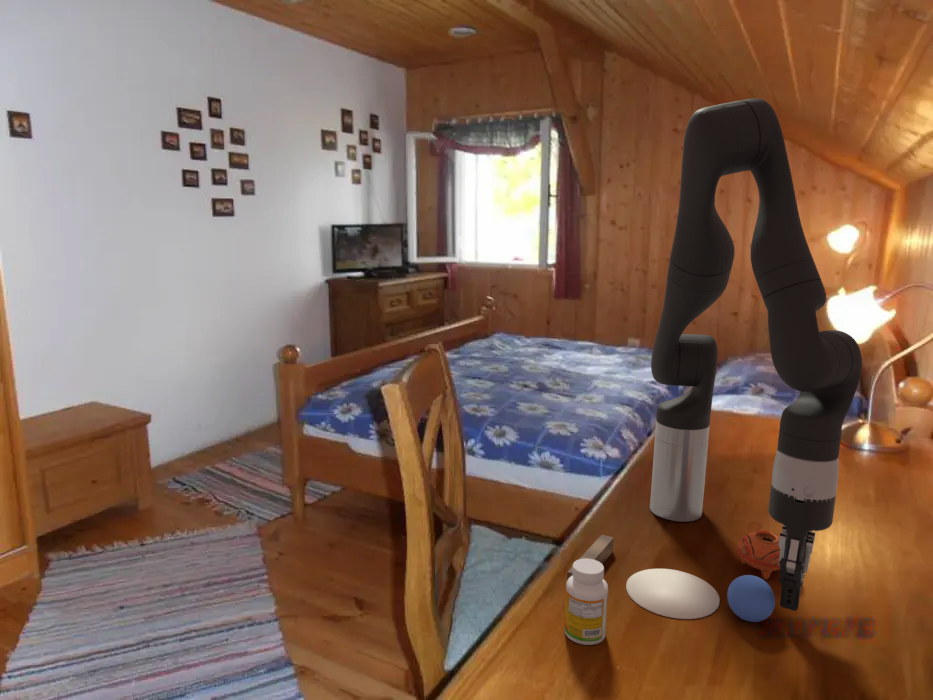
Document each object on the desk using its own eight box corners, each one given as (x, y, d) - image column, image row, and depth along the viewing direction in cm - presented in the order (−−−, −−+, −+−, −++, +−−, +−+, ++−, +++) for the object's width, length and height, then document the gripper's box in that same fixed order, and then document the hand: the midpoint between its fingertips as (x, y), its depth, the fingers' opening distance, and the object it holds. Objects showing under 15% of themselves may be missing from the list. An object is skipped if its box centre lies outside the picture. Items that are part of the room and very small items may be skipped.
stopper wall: (601, 548, 112) (601, 534, 111) (612, 551, 111) (613, 537, 110) (566, 587, 100) (567, 571, 100) (579, 591, 99) (580, 575, 99)
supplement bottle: (577, 616, 93) (580, 551, 91) (613, 632, 90) (617, 564, 88) (556, 635, 89) (559, 566, 87) (592, 652, 86) (596, 581, 84)
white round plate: (642, 561, 108) (642, 560, 108) (728, 585, 101) (728, 584, 101) (613, 600, 97) (613, 599, 97) (707, 630, 90) (707, 628, 90)
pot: (762, 551, 111) (774, 518, 108) (794, 586, 104) (808, 551, 102) (720, 555, 109) (731, 521, 106) (750, 591, 102) (763, 556, 99)
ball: (778, 608, 94) (732, 603, 97) (774, 568, 93) (728, 565, 96) (775, 634, 89) (727, 628, 92) (771, 592, 88) (722, 587, 91)
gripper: (778, 463, 95) (766, 576, 99) (764, 497, 84) (750, 622, 88) (839, 474, 91) (824, 591, 95) (833, 511, 80) (815, 642, 84)
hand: (789, 606), depth 91 cm, fingers closed
